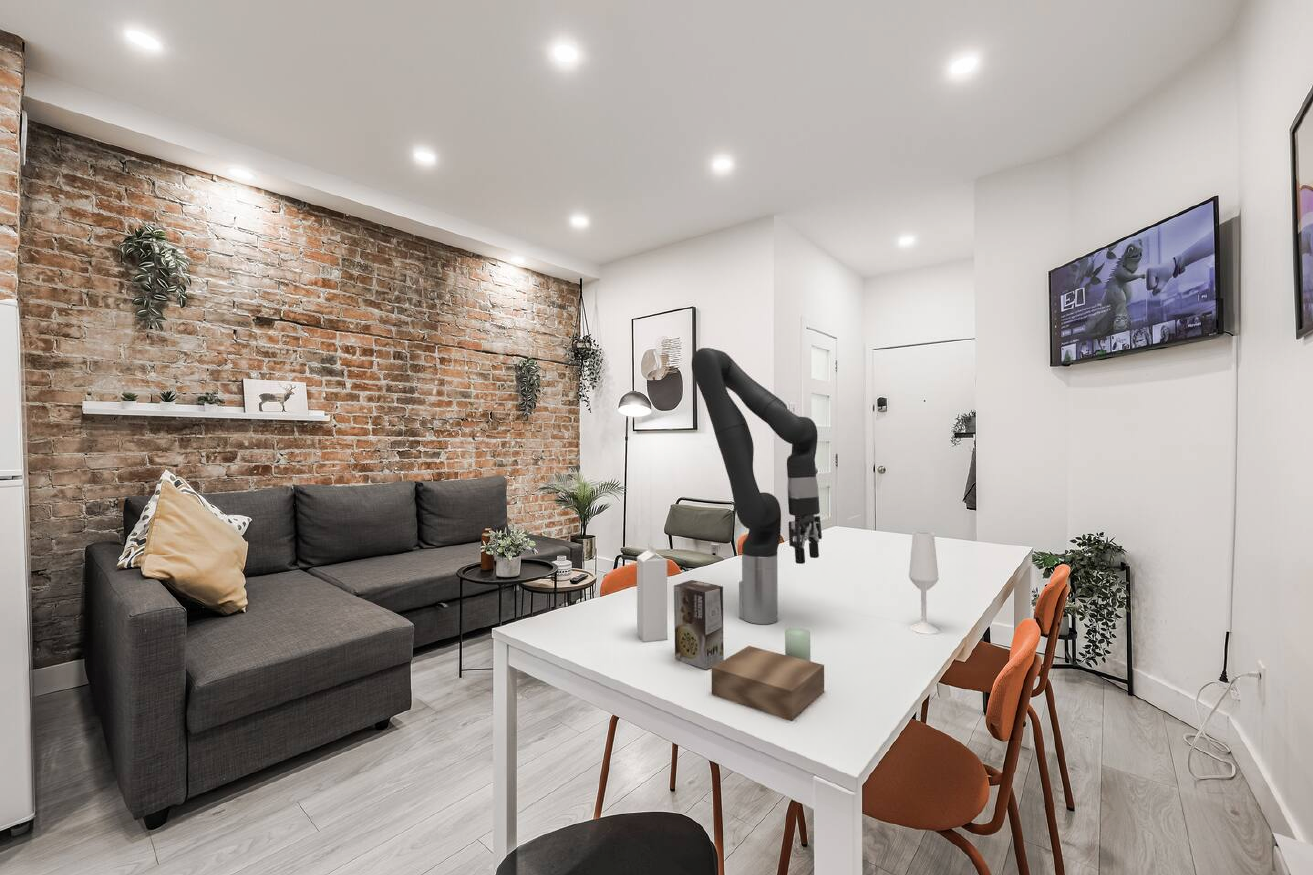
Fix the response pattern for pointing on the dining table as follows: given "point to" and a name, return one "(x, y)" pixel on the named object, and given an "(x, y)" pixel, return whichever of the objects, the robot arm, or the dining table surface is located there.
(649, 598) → the milk
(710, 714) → the dining table surface
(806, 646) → the sage cylinder
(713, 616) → the coffee box
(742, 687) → the walnut base
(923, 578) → the champagne flute
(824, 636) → the dining table surface
